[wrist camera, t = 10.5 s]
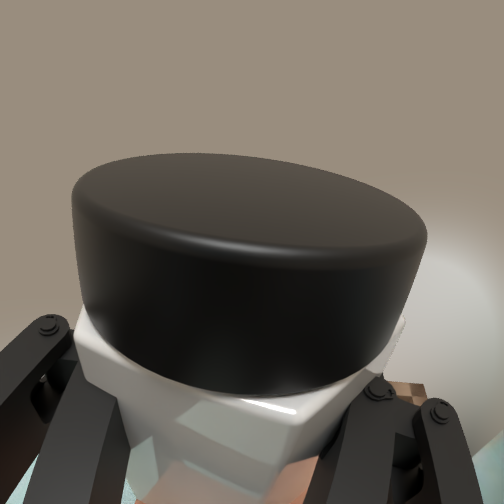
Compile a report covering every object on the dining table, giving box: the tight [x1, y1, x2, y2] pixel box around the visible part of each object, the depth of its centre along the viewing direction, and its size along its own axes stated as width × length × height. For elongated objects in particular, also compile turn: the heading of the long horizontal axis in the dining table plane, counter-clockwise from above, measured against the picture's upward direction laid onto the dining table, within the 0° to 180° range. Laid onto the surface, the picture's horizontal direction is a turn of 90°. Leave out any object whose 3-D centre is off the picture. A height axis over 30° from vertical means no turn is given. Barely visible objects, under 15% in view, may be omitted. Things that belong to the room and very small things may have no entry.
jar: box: [72, 153, 427, 504], centre depth 10 cm, size 9×8×12 cm
